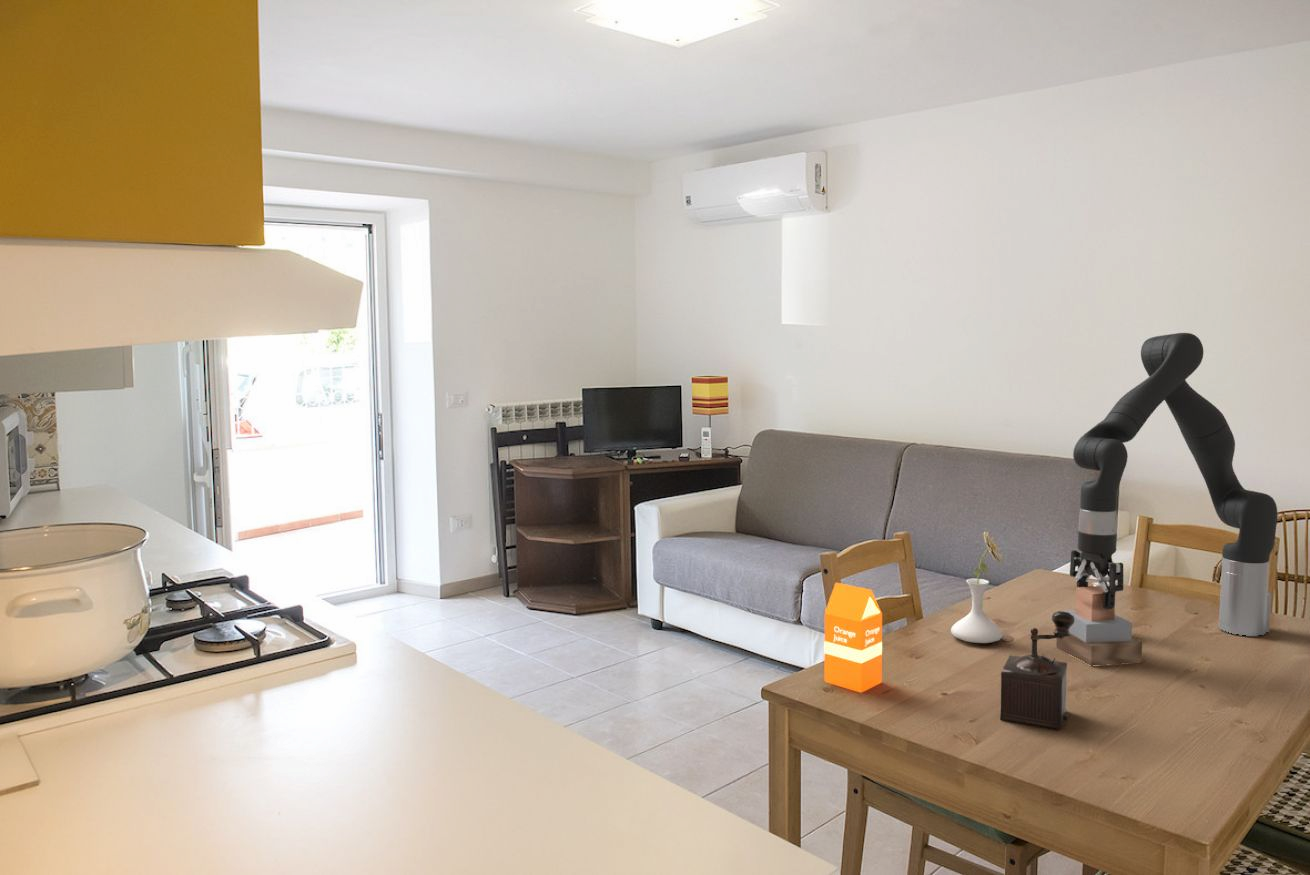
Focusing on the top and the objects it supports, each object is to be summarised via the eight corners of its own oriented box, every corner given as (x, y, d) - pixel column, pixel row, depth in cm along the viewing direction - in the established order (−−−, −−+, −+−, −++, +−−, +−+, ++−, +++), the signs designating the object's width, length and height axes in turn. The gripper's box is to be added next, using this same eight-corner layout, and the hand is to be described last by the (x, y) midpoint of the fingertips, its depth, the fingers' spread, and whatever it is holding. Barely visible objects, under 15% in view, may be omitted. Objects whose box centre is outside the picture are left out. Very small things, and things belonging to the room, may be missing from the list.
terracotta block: (1097, 612, 203) (1098, 585, 202) (1114, 619, 198) (1115, 592, 197) (1075, 614, 202) (1076, 587, 201) (1091, 621, 197) (1092, 594, 196)
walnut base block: (1104, 646, 207) (1104, 624, 207) (1141, 664, 196) (1142, 641, 195) (1056, 650, 205) (1056, 628, 205) (1090, 668, 193) (1091, 645, 193)
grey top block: (1105, 626, 205) (1106, 609, 205) (1131, 641, 196) (1132, 622, 195) (1062, 628, 205) (1062, 610, 204) (1085, 642, 195) (1086, 624, 195)
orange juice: (845, 671, 193) (845, 578, 191) (882, 682, 186) (883, 586, 184) (823, 681, 187) (823, 586, 185) (860, 693, 181) (861, 594, 179)
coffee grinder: (1064, 732, 162) (1067, 633, 160) (998, 720, 167) (1001, 624, 165) (1073, 701, 175) (1076, 610, 173) (1011, 691, 181) (1014, 602, 179)
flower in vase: (986, 651, 204) (989, 540, 201) (941, 639, 212) (942, 533, 210) (1015, 638, 212) (1018, 532, 210) (970, 627, 221) (972, 525, 218)
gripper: (1136, 535, 191) (1133, 611, 193) (1090, 522, 205) (1088, 593, 207) (1104, 537, 190) (1101, 614, 192) (1060, 524, 204) (1058, 595, 205)
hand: (1094, 603), depth 199 cm, fingers open, 8 cm apart
